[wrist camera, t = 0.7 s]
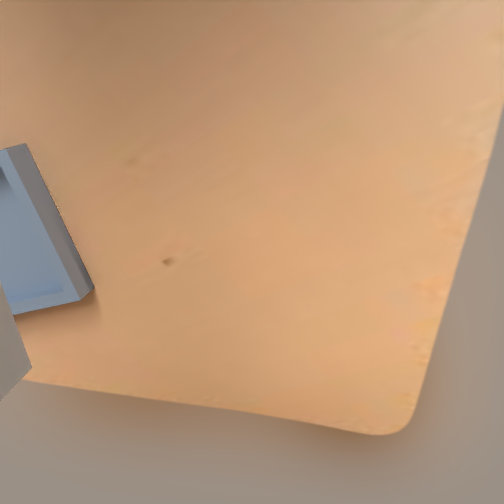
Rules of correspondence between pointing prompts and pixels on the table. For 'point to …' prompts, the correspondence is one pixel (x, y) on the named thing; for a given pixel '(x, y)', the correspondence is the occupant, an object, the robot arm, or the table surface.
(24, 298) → the tray
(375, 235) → the table surface
